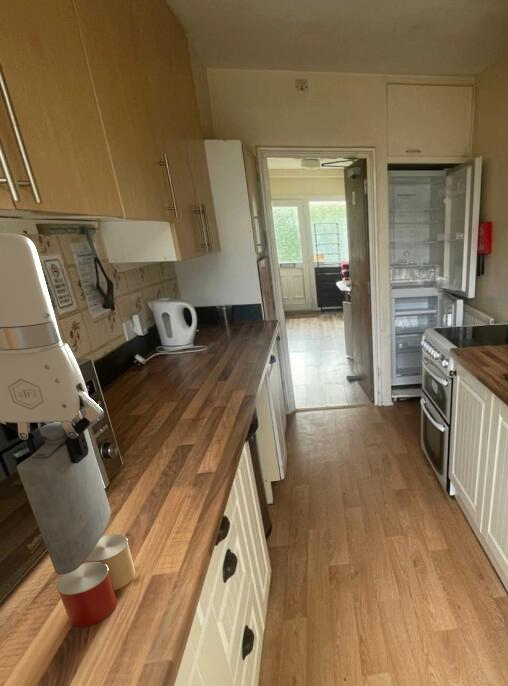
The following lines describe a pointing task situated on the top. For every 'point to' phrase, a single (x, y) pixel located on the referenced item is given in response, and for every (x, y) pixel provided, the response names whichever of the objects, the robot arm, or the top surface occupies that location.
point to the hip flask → (65, 499)
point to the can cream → (114, 559)
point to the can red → (87, 594)
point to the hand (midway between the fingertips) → (62, 458)
